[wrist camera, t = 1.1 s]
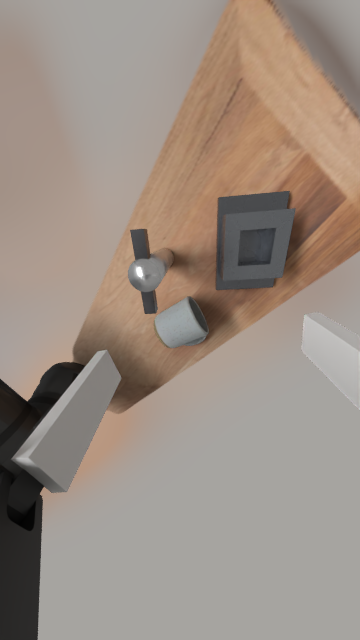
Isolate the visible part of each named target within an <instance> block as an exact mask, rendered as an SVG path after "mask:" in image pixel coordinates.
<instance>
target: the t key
mask: <svg viewBox="0 0 360 640" xmlns="http://www.w3.org/2000/svg"><path fill="white" fill-rule="evenodd" d="M130 231H131V237H132V243H133V249H134V254H135V261H134V262H133V263H132V264H131V265H130V267H129V270H128V278H129V281H130V283H131V284H132V285H133V287H135V288H136V289H137V290H139V291H141V295H142V300H143V306H144V312H145V314H154V313H156V312H157V310H158V307H157V300H156V293H155V289H156V288H157V287H158V285H159V284H160V282H161V281H162V279H163V277H164V276H165V274H166V273H167V271H168V270H169V268H170V267H171V265H172V263H173V261H174V256H173V253H172V252H171V251H170V250H169V249H165V248H163V249H160V250H158V251H156V252H153V253H151V254H150V249H149V241H148V234H147V229H137V230H130Z"/></svg>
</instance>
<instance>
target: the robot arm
mask: <svg viewBox="0 0 360 640" xmlns="http://www.w3.org/2000/svg"><path fill="white" fill-rule="evenodd" d="M301 351H302V352H303V353H304V354H305V355H306V356H307V357H308V358H309V359H310V360H311V361H312V362H313V363H314V364H315V365H316V366H317V367H318V368H319V369H320V370H321V371H322V372H323V373H324V374H325V375H326V376H327V377H328V378H329V379H330V380H331V382H332V383H334V385H336V387H337V388H338V389H339V390H340V391H341V392H342V393H343V394H344V395H345V396H346V397H347V398H348V399H349V400H350V401H351V402H352V403H353V404H354V405H355V406H356V407H357V408H358V409H359V410H360V336H359V335H357V334H355V333H354V332H352V331H350V330H349V329H347V328H345V327H343V326H342V325H340V324H338V323H336V322H335V321H333V320H331V319H330V318H328V317H326V316H325V315H323V314H321V313H319V312H315V313H309V314H304V326H303V337H302V349H301ZM120 380H121V376H120V374H119V372H118V370H117V368H116V366H115V364H114V362H113V360H112V358H111V356H110V354H109V353H108V351H107V350H103V351H97V353H96V354H95V355H94V356H93V358H92V359H91V360H90V361H89V363H88V364H87V365H86V366H82V365H80V364H76V363H70V362H63V363H58V364H55V365H53V366H52V367H51V368H50V369H49V370H47V371H46V372H45V374H44V375H43V376H42V378H41V380H40V384H39V385H38V386H37V388H36V390H35V391H34V393H33V395H32V397H31V398H30V399H29V400H28V401H26V400H25V399H23V398H22V397H21V396H20V395H19V394H17V393H16V392H15V391H14V390H13V389H12V388H10V387H9V386H8V385H7V384H6V383H4V382H3V381H2V380H1V379H0V640H37V639H38V638H37V636H38V612H39V585H40V558H41V533H42V505H43V500H42V496H41V495H40V492H41V490H42V489H43V487H45V488H47V489H48V490H49V491H50V492H51V493H56V492H67V491H68V489H69V487H70V484H71V482H72V480H73V478H74V476H75V474H76V472H77V470H78V468H79V466H80V464H81V461H82V459H83V457H84V455H85V453H86V451H87V449H88V447H89V445H90V443H91V441H92V439H93V436H94V434H95V432H96V430H97V428H98V426H99V424H100V422H101V420H102V418H103V415H104V414H105V411H106V409H107V407H108V405H109V403H110V401H111V399H112V397H113V395H114V393H115V391H116V389H117V386H118V384H119V382H120Z"/></svg>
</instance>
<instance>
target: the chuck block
mask: <svg viewBox="0 0 360 640" xmlns="http://www.w3.org/2000/svg"><path fill="white" fill-rule="evenodd" d="M289 192H290V191H283V192H272V193H262V194H251V195H240V196H229V197H219V198H218V214H217V255H216V290H227V289H246V288H266V287H273V284H274V278H282V276H283V271H284V266H285V261H286V256H287V250H288V245H289V240H290V235H291V230H292V225H293V220H294V214H295V209H296V208H294V209H287V203H288V198H289Z"/></svg>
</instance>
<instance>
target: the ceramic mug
mask: <svg viewBox="0 0 360 640" xmlns="http://www.w3.org/2000/svg"><path fill="white" fill-rule="evenodd" d="M154 329H155V332H156V335H157V337H158V339H159V340H160V342H161V343H162V344H163V345H164V346H166V347H168V348H175V347H179V346H181V345H185V346H192V345H196V344H199V343H201V342H202V341H204V340H205V338H206V335H207V334H208V333H209V328H208V325H207V322H206V319H205V317H204V315H203V313H202V311H201V309H200V308H199V306H198V304H197V303H196V302H195V300H194V299H193V298H192V297H190V296H188V297H186V298H185V299H183V300H181V301H180V302H178V303H176V304H174V305H173V306H171V307H170V308H168V309H166V310H164V311H163V312H161V313H160V314H159V315H157V316H156V318H155V320H154Z"/></svg>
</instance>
